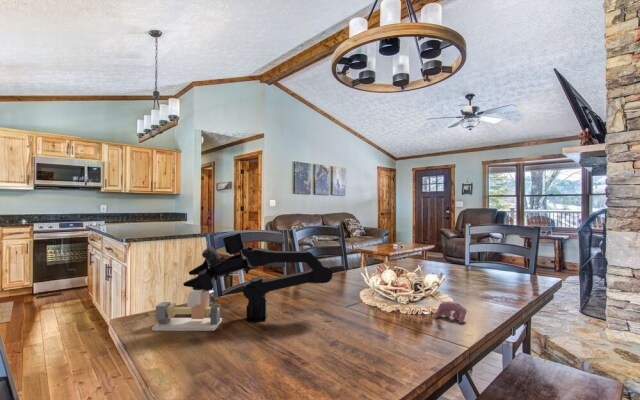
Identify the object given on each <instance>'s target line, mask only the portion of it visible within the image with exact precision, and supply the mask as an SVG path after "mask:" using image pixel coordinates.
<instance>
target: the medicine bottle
mask: <svg viewBox="0 0 640 400" xmlns="http://www.w3.org/2000/svg"><path fill="white" fill-rule="evenodd" d="M202 291H203V289H200V288H194V287H192V292H190V293H188V294H187V300H186V301H187V302H186V303H187V306H186V307H193V306H194V305H196V304H197V303H201V292H202ZM214 304H215V290H210V291H209V307H213V305H214Z"/></svg>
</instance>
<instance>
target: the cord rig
mask: <svg viewBox="0 0 640 400" xmlns="http://www.w3.org/2000/svg"><path fill="white" fill-rule="evenodd" d="M191 308H192V307H187V306H177V303H172V302H171V301H161V302H160V303H158V304H157V305H156V306H155V320H158V322H157V323H156V324H155V325H154V326H152V328H151V330H152V331H155V332H156V331H158V332H159V331H167V332H169V331H172V332H173V331H175V332H176V331H177V332H178V331H179V332H181V331H182V332H183V331H184V332H186V331H189V332H190V331H193V332H194V331H195V332H199V331H201V332H202V331H204V332H206V331H208V332H209V331H210V332H211V331H213V332H214V331H215V330H217V328H218V327H219V325H221V322H222V321H223V317H221V304H220V303H219V304H216V303H214V305H213V307H206V308H205V314H208V315H210V317H205V318H204V319H191V317H175V316H177V315H191Z"/></svg>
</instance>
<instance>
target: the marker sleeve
mask: <svg viewBox="0 0 640 400" xmlns="http://www.w3.org/2000/svg"><path fill="white" fill-rule="evenodd" d="M209 291H211V290H209ZM209 291H205V290H203V291H202V292H201V303H197V304H196V305H194V306H193V307H192V308H191V314H190V315H191V316H190V318H191V319H204V318H207V316H208V315H209V314H205V308H206V307H209Z"/></svg>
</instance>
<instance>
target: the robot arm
mask: <svg viewBox="0 0 640 400" xmlns="http://www.w3.org/2000/svg"><path fill="white" fill-rule="evenodd" d="M221 240H222V243H223V246H224V250H225V253H227V254H228V255H231V256H228V257H226V256H224V255H222V256H220V254H219V253H218V251H217V250H216V249H215V248H214V246H212V245H209V246H208V247H206V248H205V249H204V250H203V251H202V254H201V256H202V257H203V258H204V261H203V263H201V264H199V265H198V266H196V267H195V268H193V269H191V270H190V271H188V275H189V276H195V277H193V278H191V279H189V280H186V281H184V282H183V284H182V285H183V286H184V287H187V288H193V287H194V288H200V289H203V290H205V291H209V290H210V291H213V288H214V287H215V283H216V282H215V281H218V280H219V278H221V277H223V276H226V277H229V276H230V274H232V273H236V272H238V271H243V270H244V272H245V275H248V274H249V272H250V271H251V269H252V267H259V266H265V265H268V264H269V265H270V264H274V263H306V264H307V265H308V267H310V268H309V269H307V270H304V271H300V272H296V273H291V274H287V275H283V276H278V277H273V278H264V276H263V275H262V274H261V275H260V276H256V277H255V276H254V277H253V276H252V277H251V279H249V280H247V282H246V283H245V284H244V286H243V289H242V292H243V293H242V294H243V296H244V297H245V299H247V300H248V302H247V305H246V309H245V310H246V311H245V312H246V314H245V315H246V321H247V322H265V321H267V317H268V315H269V313H268V299H266V297H267V294H268V293H269V292H272V291H273V292H274V291H277V290H282V289H286V288H291V287H295V286H299V285H304V284H310V283H311V284H327V283H329V282H331V281H332V279H333V271H332V270H331V268H330V267H329V266H328V265H327V264H325V263H322V262H321V261H320V260H319V259H318V258H317V257H316V256H315V255H314V254H313V253H312V252H311V251H310V250H305V251H303V250H301V251H297V250H295V251H294V250H293V251H290V250H289V251H285V250H283V251H282V250H281V251H280V250H271V249H266V248H261V247H254V248H252V247H250V246H247V245H245V243H244V240H243V236H242V232H238V233H235V234H233V233H232V234H229V235H226V236H222V237H221Z"/></svg>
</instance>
